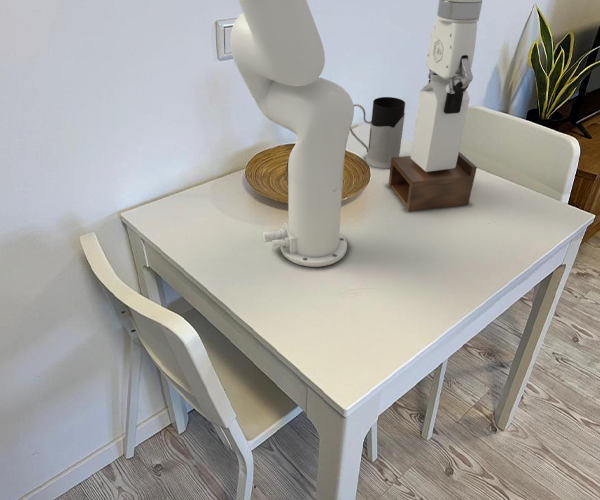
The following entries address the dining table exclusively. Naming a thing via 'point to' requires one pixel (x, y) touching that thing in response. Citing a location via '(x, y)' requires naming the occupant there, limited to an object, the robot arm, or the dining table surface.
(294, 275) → the dining table surface
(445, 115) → the milk carton
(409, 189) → the brown wooden box
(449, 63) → the robot arm
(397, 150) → the glass holder
